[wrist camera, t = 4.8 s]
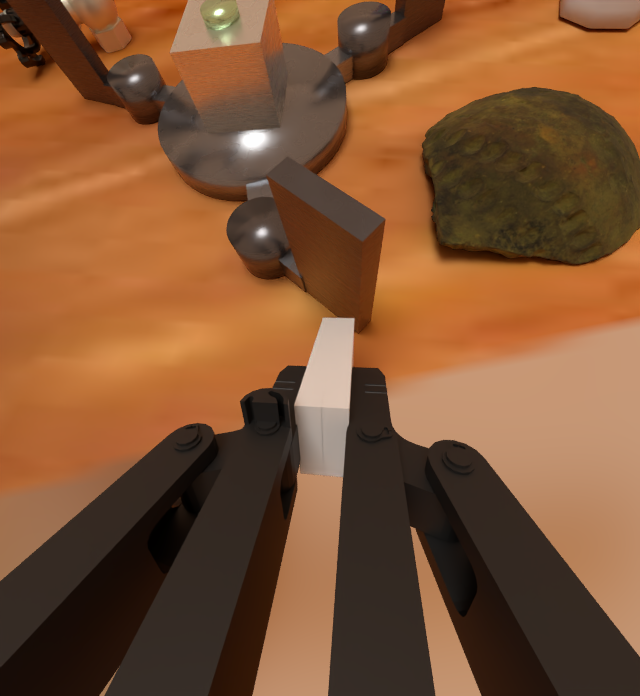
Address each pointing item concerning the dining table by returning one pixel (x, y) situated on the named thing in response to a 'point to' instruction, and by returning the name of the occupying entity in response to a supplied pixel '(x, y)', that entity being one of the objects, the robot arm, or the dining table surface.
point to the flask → (601, 13)
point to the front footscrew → (312, 240)
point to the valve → (85, 7)
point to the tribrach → (236, 84)
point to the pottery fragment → (533, 177)
